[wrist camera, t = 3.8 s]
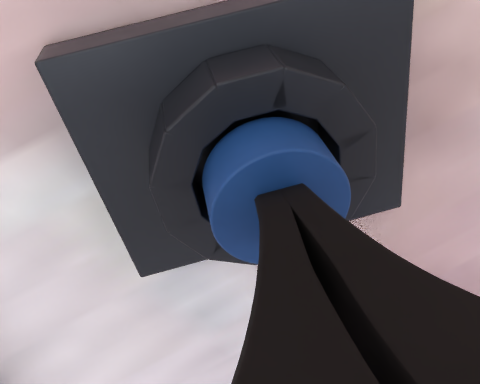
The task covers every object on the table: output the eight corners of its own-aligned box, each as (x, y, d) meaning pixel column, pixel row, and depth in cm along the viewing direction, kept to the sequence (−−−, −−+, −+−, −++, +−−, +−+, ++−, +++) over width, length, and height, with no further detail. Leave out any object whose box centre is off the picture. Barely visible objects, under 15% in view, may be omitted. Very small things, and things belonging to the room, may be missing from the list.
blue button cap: (323, 100, 12) (350, 132, 10) (330, 206, 14) (353, 245, 13) (186, 136, 12) (193, 173, 10) (217, 237, 14) (227, 280, 13)
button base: (391, -41, 13) (459, -22, 10) (384, 186, 19) (428, 239, 16) (43, 45, 13) (16, 90, 10) (140, 252, 18) (140, 318, 15)
